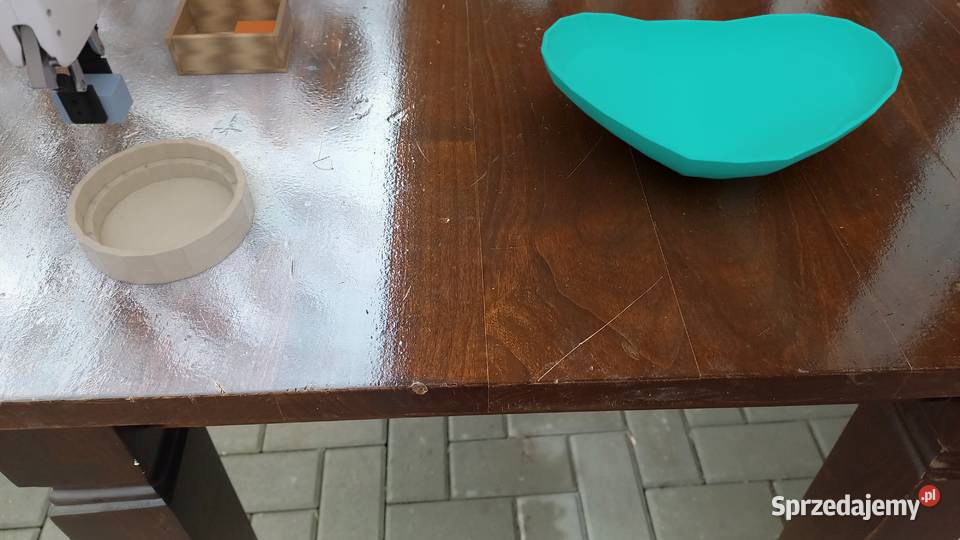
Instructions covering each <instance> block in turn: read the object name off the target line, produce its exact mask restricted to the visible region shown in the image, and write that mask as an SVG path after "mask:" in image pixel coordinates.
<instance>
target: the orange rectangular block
mask: <svg viewBox="0 0 960 540" xmlns="http://www.w3.org/2000/svg"><path fill="white" fill-rule="evenodd" d="M275 24H276V20H273V21H237V25H236V28H235V31H234V34H242V33H273V32H274V28H275Z"/></svg>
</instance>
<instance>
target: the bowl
mask: <svg viewBox="0 0 960 540" xmlns="http://www.w3.org/2000/svg"><path fill="white" fill-rule="evenodd" d="M255 211H256V209H255V206H254V202H253V198H252V195H251V191H250V188H249V185H248V181H247V179H246V175H245V173H244V170H243V166H242V164H241V163H240V162H239V161H238V159H236V157H235V156H234V155H233V154H232V153H231V151H229V150H227V149H225V148H223V147H221V146H219V145H216V144H215V143H213V142H209V141H204V140H199V139H194V138H162V139H157V140H153V141H148V142H143V143H139V144H135V145H133V146H131V147H127V148H126V149H123V150H120V151H119V152H116V153H113V154H111V155H110V156H108V157H107V158H105V159H104V160H102V161H101V162H99V163H98V164H97V165H95V166H92V168H90V170H88V172H87V173H86V174H85V175H84V176H83V177H81V179H80V180H79V181H78V182H77V183H76V185H74V187H73V189H72V192H71V194H70V196H69V198H68V201H67V203H66V225H67V226H68V228H69V229H70V231H71V233H72V234H73V236H74V237H75V239H76V240H77V242H78V244H79V246H80V247H81V249H82V250H83V252H84V253H85V255H86V256H87V258H88V260H89V261H90V263H91V264H92V266H93V268H95V270H97V271H99V272H100V273H102V274H103V275H105V276H107V277H109V278H110V279H111V280H115V281H119V282H125V283H128V284H133V285H138V286H140V285H141V286H144V285H162V284H164V285H165V284H170V283H173V282H178V281H180V280H183V279H188V278H191V277H196V276H198V275H199V274H201V273H203V272H205V271H207V270H209V269H211V268H212V267H215V266H217V265H219V264H220V263H222V262H223V261H224V260H225V259H226V258H227V257H229V256H230V255H231V254H232V253H233V252H235V251H236V250H237V249H238V248H239V247H240V246H241V244H242V243H243V241H244V239H245V238H246V237H247V235H248V233H249V232H250V231H251V229H252V226H253V221H254V215H255Z"/></svg>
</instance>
